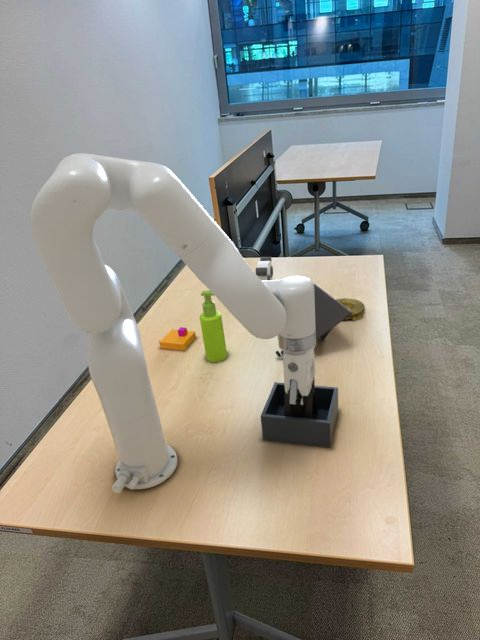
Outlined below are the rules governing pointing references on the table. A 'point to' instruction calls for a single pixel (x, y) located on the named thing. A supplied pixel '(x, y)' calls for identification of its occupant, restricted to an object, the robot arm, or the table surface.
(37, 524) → the table surface
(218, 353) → the soap dispenser
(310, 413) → the phone stand
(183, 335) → the orange tile with knob
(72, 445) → the table surface
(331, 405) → the tote
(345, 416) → the table surface
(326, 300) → the laptop tray
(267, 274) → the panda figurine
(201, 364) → the table surface
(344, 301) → the compass
